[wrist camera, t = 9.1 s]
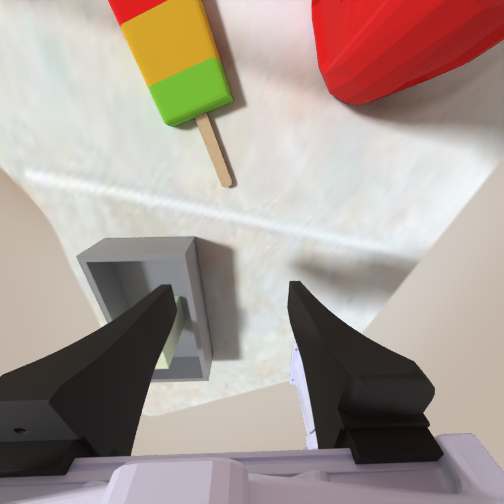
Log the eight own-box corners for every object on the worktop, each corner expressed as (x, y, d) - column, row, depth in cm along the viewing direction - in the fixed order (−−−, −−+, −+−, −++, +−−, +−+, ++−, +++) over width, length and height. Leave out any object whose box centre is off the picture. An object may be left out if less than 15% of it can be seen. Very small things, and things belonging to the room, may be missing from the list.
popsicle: (177, -78, 12) (166, -115, 10) (256, 174, 19) (257, 177, 17) (99, -33, 13) (77, -61, 11) (202, 194, 19) (197, 199, 18)
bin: (213, 353, 29) (208, 380, 26) (148, 355, 29) (135, 382, 26) (194, 236, 21) (184, 253, 17) (104, 238, 21) (76, 256, 17)
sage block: (185, 321, 25) (168, 368, 20) (152, 322, 25) (127, 370, 20) (179, 295, 23) (158, 340, 18) (144, 297, 23) (113, 341, 18)
